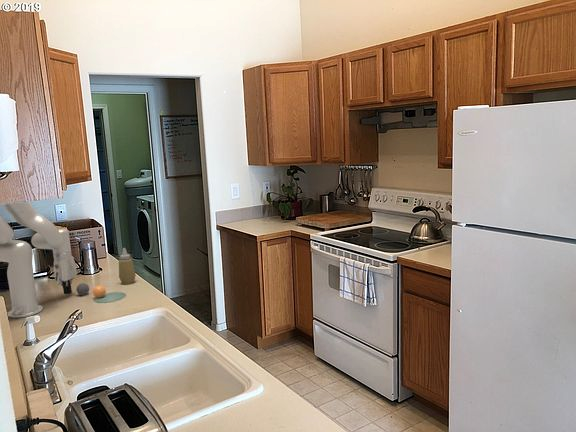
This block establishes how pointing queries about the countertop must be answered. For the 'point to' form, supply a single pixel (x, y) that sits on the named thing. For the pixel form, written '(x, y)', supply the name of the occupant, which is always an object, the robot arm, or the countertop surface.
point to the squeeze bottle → (126, 268)
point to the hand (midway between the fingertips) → (67, 293)
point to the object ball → (99, 291)
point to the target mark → (110, 297)
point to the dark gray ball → (82, 289)
